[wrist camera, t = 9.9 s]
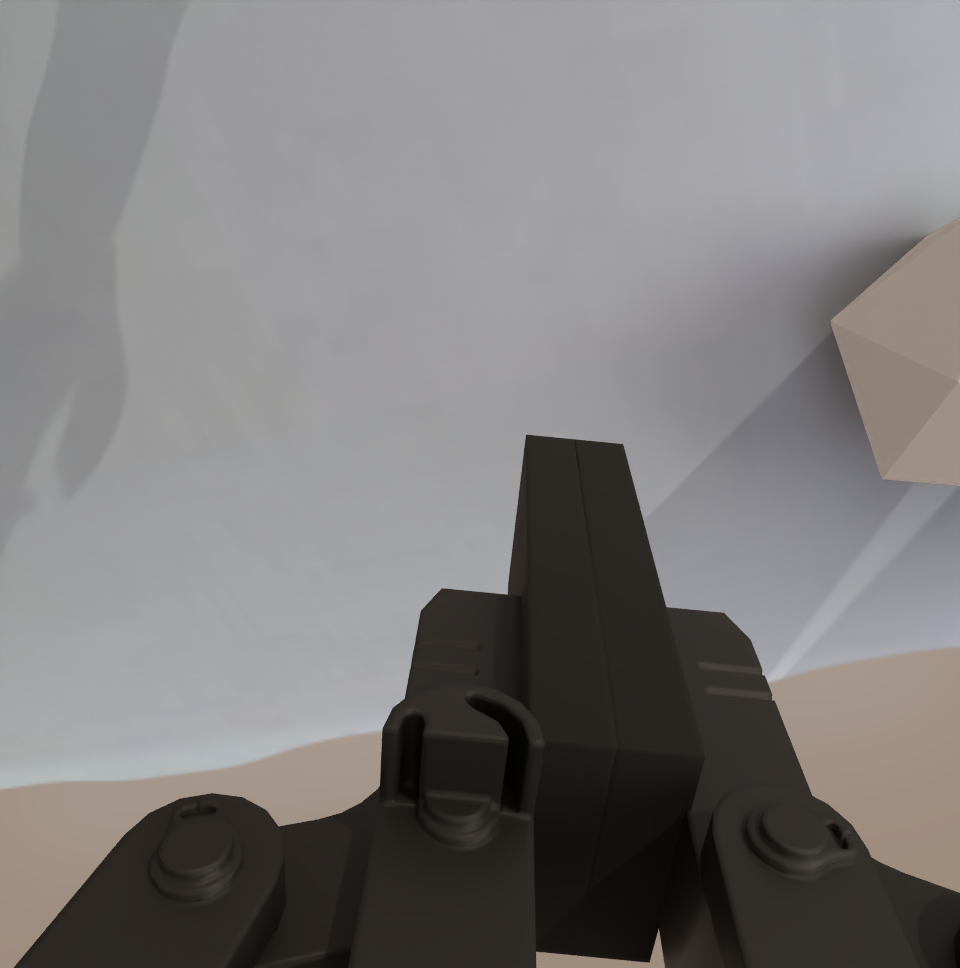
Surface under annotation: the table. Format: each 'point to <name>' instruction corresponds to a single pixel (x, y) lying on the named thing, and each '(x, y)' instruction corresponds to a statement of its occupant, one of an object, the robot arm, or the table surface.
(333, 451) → the table surface
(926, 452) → the die
